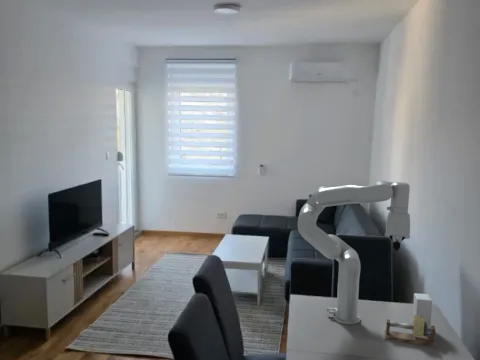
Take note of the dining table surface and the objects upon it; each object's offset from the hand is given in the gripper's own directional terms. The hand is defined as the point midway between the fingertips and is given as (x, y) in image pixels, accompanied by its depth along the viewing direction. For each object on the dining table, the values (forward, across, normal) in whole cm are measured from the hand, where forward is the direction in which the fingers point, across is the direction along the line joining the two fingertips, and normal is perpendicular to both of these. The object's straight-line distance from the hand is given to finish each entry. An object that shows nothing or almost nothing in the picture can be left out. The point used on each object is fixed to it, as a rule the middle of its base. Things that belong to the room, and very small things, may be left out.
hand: (396, 249), depth 202 cm
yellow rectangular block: (+32, +10, -14) cm, 36 cm away
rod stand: (+35, +7, -14) cm, 38 cm away
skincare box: (+35, +12, -2) cm, 38 cm away
